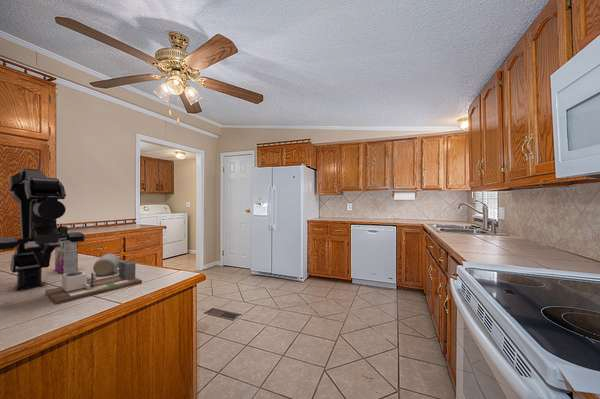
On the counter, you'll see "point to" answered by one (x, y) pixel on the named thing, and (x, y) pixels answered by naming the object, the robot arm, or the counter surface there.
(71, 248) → the candy bar box
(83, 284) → the gauge
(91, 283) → the peak needle
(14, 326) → the counter surface
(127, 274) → the test rig
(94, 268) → the ceramic mug
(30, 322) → the counter surface
